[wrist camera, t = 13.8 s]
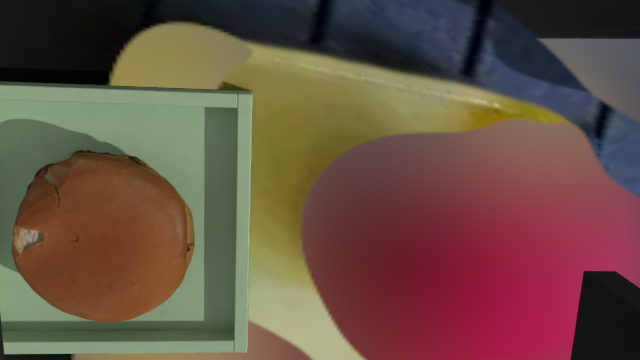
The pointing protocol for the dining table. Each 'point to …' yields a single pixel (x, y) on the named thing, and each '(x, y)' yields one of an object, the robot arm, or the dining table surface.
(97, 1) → the dining table surface
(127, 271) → the burger
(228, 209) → the serving tray
